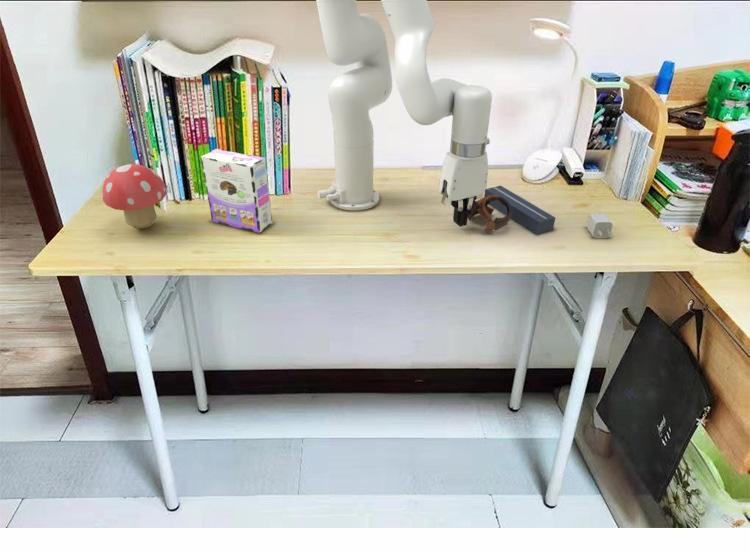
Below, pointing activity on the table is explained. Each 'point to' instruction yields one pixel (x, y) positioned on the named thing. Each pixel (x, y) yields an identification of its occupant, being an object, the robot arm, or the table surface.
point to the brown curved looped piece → (490, 212)
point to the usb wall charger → (599, 225)
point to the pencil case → (522, 210)
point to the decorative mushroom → (134, 193)
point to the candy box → (237, 189)
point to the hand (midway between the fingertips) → (459, 223)
